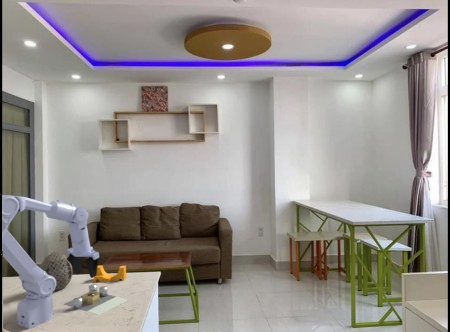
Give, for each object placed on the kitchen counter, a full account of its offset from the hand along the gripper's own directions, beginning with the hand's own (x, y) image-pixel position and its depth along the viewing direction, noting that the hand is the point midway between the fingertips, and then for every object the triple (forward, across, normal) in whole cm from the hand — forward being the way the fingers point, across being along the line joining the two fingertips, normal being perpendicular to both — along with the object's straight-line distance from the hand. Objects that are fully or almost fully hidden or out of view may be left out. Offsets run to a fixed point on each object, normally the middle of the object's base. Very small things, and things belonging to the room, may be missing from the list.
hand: (86, 274), depth 124 cm
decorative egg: (+10, +20, 0) cm, 22 cm away
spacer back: (+9, +2, -3) cm, 10 cm away
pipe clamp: (+13, +7, -16) cm, 22 cm away
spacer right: (+10, -3, -3) cm, 11 cm away
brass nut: (+9, -3, +2) cm, 9 cm away
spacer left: (+8, -3, +8) cm, 11 cm away
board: (+10, -5, +2) cm, 11 cm away
